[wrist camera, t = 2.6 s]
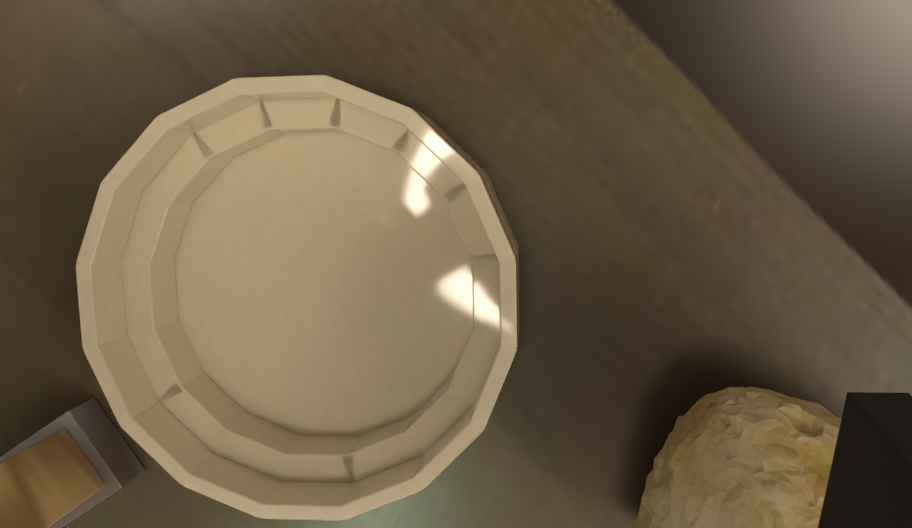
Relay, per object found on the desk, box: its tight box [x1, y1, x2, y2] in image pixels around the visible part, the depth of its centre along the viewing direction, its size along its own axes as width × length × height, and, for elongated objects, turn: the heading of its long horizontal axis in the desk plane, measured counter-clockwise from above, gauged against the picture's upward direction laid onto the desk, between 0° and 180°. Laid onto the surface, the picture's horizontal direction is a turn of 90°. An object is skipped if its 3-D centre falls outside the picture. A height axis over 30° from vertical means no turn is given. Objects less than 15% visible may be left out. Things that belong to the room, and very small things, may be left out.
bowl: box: [75, 75, 520, 521], centre depth 30 cm, size 16×16×5 cm
